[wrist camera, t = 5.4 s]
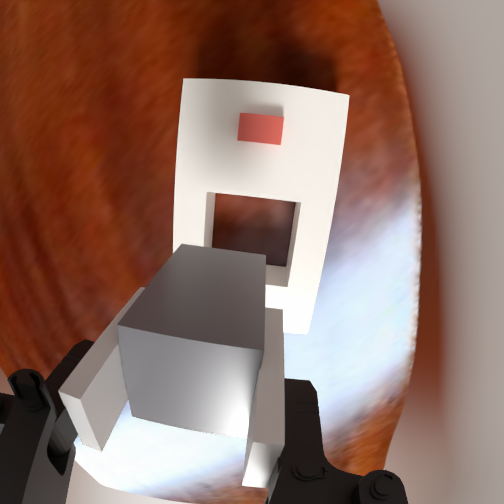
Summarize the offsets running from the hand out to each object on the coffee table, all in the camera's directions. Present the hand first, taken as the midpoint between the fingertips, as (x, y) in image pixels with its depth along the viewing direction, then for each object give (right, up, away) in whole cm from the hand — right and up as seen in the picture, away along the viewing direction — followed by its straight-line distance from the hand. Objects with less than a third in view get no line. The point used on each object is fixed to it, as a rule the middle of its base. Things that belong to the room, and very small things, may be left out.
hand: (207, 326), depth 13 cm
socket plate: (+2, +7, +14) cm, 16 cm away
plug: (0, +1, +4) cm, 4 cm away
